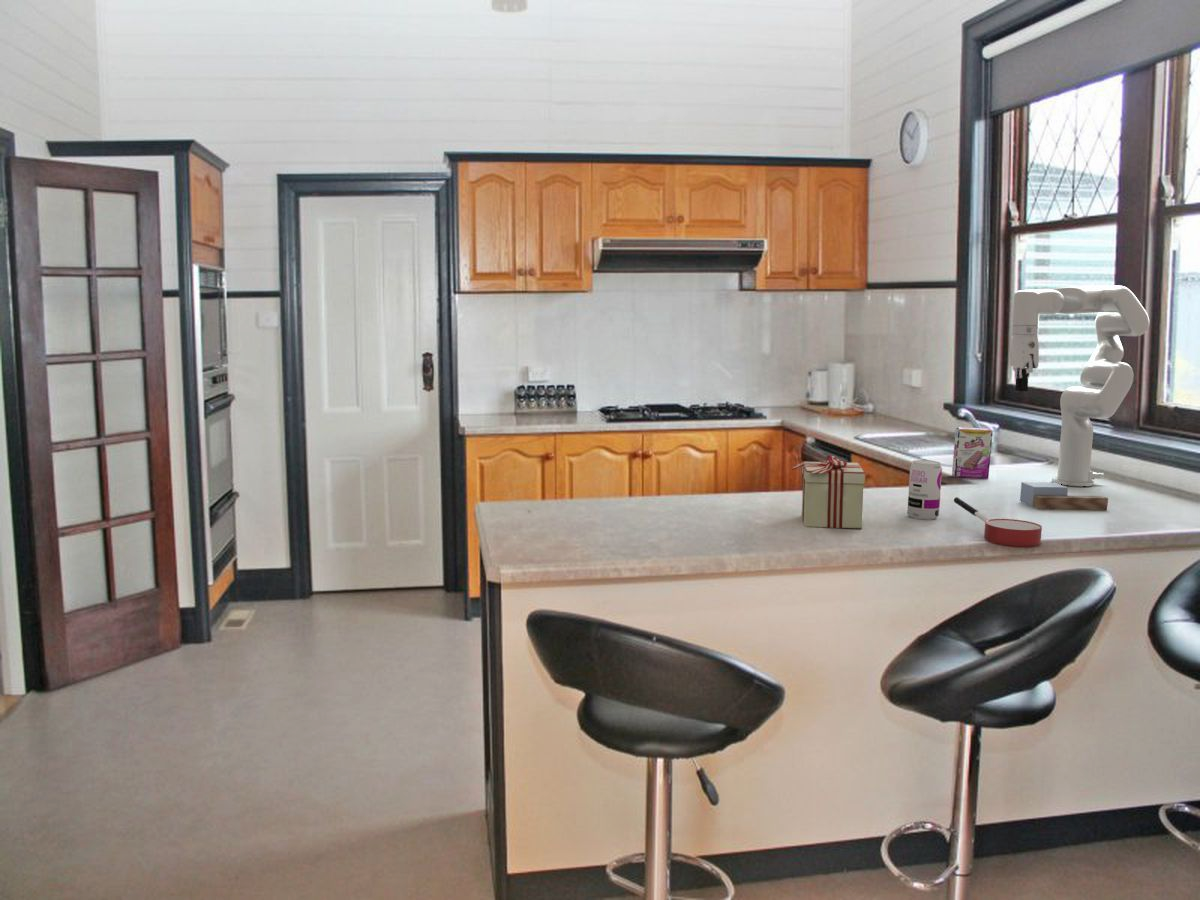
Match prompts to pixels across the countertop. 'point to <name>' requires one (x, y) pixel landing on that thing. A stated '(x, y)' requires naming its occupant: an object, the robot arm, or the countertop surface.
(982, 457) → the candy bar box
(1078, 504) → the board
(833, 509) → the gift box
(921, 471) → the supplement can
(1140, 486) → the countertop surface
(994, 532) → the frying pan
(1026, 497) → the block
